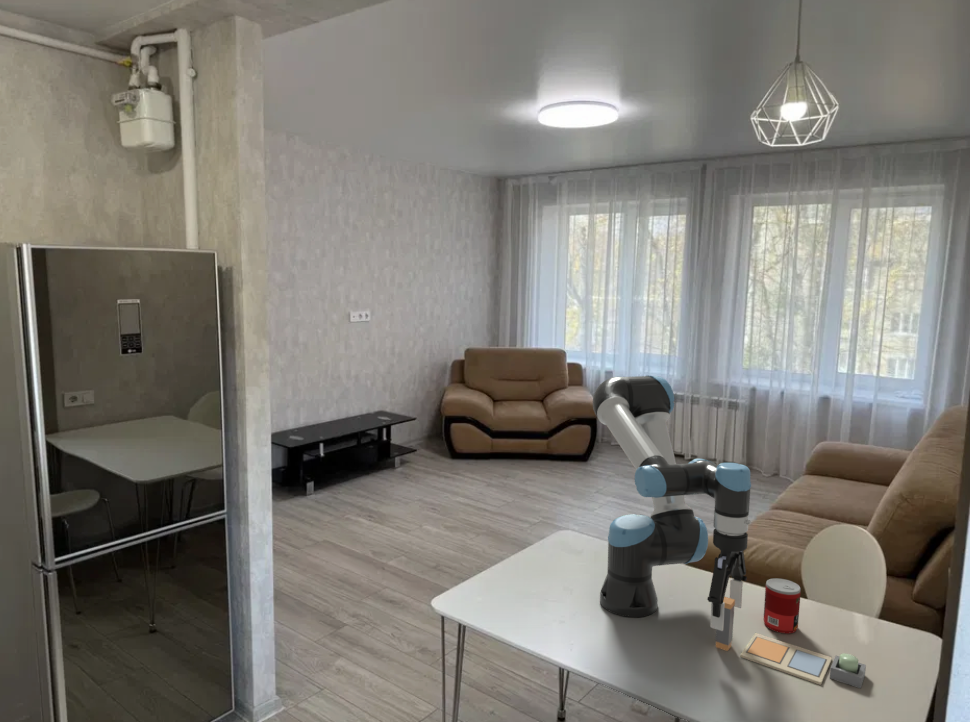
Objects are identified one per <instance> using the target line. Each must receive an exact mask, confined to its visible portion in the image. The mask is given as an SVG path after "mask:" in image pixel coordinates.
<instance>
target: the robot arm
mask: <svg viewBox="0 0 970 722" xmlns="http://www.w3.org/2000/svg"><path fill="white" fill-rule="evenodd" d="M674 401H675V394H674V391H673V388H672V386H671V384H670V382H669V381H668V380H667V379H665V378H664V377H661V376H656V375H641V376H639V375H638V376H635V375H634V376H612V377H608V379H607V378H606V380H604V381H603V382H602V383H600V384H599V385H598V386H597V387H596V389H595V391H594V394H593V396H592V409H593V412H594V415H595V416H596V418H597V420H598V422H599V423H601V424H602V425H605V426H606V427H607V428H608V430H609V431H610V432H611V434H612V436H613V437H614V439H615V441H616V442H617V444H618V445H619V446H620V448H621V449H622V451H623V452H624V455H626V457H627V459H628V460H629V462H631V463H630V464H632V466H633V467H634V469H635V473H634V484H635V486H636V491H637V493H638V494H639V495H640V496H641V497H644V498H651V500H652V505H653V511H652V513H651V514H650V515H645V514H637V513H634V514H633V513H632V514H631V513H630V514H625V515H622V516H621V515H620V516H619V517H616V518H615V519H613V521H611V523H610V524H609V530H608V536H607V542H608V544H607V545H608V546H607V548H608V549H607V572H606V576H605V579H604V581H603V584H602V585H601V586H602V587H601V588H600V592H599V603H600V605H601V606H602V607H603V608H604V609H605V610H607V611H608V612H610V613H613V614H614V615H617V616H622V617H626V618H642V617H643V618H644V617H647V616H651V615H652V614H654V613H655V612H656V611H657V609H658V596H657V593H656V588H655V585H654V582H653V579H652V577H653V567H656V566H658V567H659V566H667V565H669V566H670V565H678V564H683V565H687V564H689V563H695V562H699V561H700V560H702V559H703V558H704V557H705V555H706V553H707V549H708V545H709V533H708V529H707V525H706V524H705V522H704V520H703V519H702V518H700V517H697V516H695V513H694V509H693V508H691V507H690V506H689V505H687V504H686V500H685V496H693V495H707V496H709V497H711V498H713V499H714V510H713V528H714V529H713V533H712V534H713V535H712V544H713V545H714V547H716V548H718V549H719V550H720V552H719V554H718V557H714V564H713V565H714V567H713V572H712V577H711V583H710V588H709V593H708V596H707V599H706V600H707V601H708V602H709V603H711V608H710V609H711V610H710V628H712V629H715V630H716V629H717V630H720V631H723V627H724V606H725V602H723V600H724V597H726V596H725V595H726V592H727V588H728V583H730V585H729V598H731V599H734V600H735V605H734V608H735V607H736V608H738V609H741V608H742V604H743V603H742V602H743V586H744V582H746V581H747V579H748V577H747V576H746V574H747V569H746V562H745V561H746V560H745V554H744V552H745V550H747V549H748V541H749V540H748V539H749V538H748V537H749V536H748V535H749V534H748V530H749V525H751V523H752V522H751V520H750V519H749V513H750V500H751V488H752V482H751V470H750V468H749V467H748V466H746V465H745V464H740V463H737V462H720V463H719V464H717V463H714V462H713V461H711V460H709V459H708V460H707V459H704V458H700V457H699V458H694V459H692V460H691V461H689V462H688V463H677V462H676V457H675V454H674V453H675V452H674V450H673V445H672V441H671V437H670V432H669V428H668V424H667V422H668V421H669V419H670V418H671V413H672V412H673V410H674V408H675V402H674ZM730 577H731V578H730ZM729 580H730V582H729Z"/></svg>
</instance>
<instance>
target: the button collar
mask: <svg viewBox="0 0 970 722" xmlns="http://www.w3.org/2000/svg"><path fill="white" fill-rule="evenodd" d="M839 659H840V655H835V656H834V658H833V660H832V663H831V664H830V667H829V668H830V670H829V671H830V672H829V678H830V679H831V680H835V681H837V682H840V683H843V684H846V685H849V686H851V687H855V688H858V689H861V688H862V686H863V683H864V679H865V678H866V667H867V665H866V664H865V663H861V662H858V670H857V674H855V673H852V672H849V671H846V670H842V669H839Z"/></svg>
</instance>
